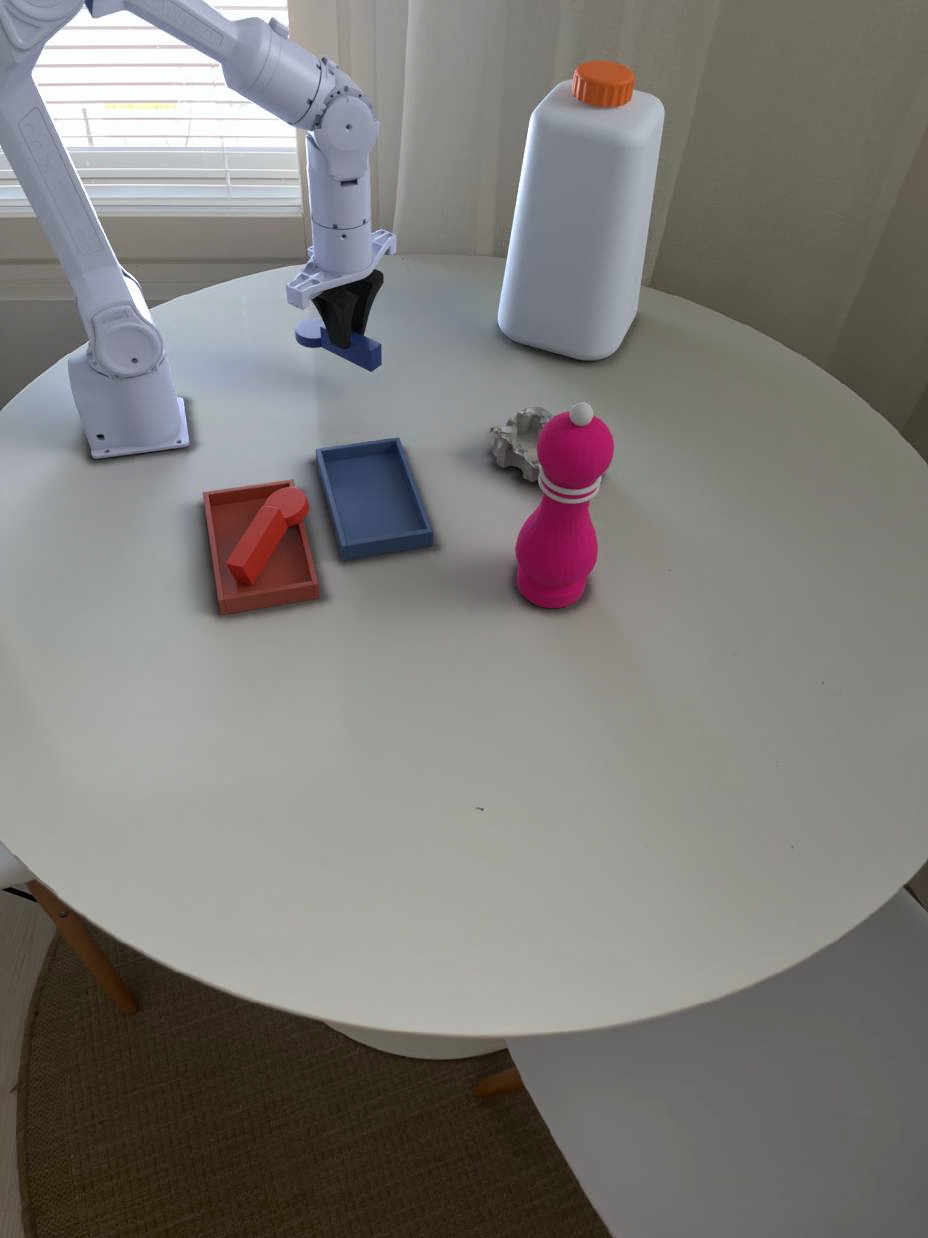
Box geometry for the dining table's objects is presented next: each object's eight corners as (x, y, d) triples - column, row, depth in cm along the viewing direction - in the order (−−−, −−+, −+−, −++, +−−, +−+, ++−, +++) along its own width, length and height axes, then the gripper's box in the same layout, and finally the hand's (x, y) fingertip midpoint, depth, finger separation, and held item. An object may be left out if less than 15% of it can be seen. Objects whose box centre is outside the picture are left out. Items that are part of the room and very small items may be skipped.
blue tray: (342, 561, 84) (341, 546, 82) (316, 463, 92) (315, 448, 91) (433, 546, 85) (433, 531, 84) (399, 451, 94) (399, 436, 92)
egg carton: (482, 458, 94) (484, 426, 91) (525, 425, 98) (529, 393, 95) (566, 506, 90) (571, 474, 87) (607, 469, 94) (614, 437, 91)
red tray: (221, 615, 79) (218, 600, 77) (205, 506, 87) (202, 491, 86) (320, 598, 81) (318, 583, 79) (295, 493, 89) (293, 478, 88)
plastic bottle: (642, 308, 114) (697, 60, 92) (608, 373, 104) (660, 114, 83) (529, 278, 117) (557, 32, 95) (486, 339, 108) (506, 81, 86)
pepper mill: (584, 620, 80) (627, 442, 65) (504, 605, 81) (528, 426, 66) (593, 562, 85) (635, 384, 70) (517, 548, 86) (542, 368, 70)
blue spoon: (388, 360, 98) (388, 339, 96) (364, 377, 96) (364, 356, 94) (312, 322, 101) (310, 301, 99) (287, 338, 99) (285, 317, 97)
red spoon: (263, 587, 80) (253, 569, 78) (225, 579, 81) (214, 561, 79) (316, 499, 85) (308, 479, 83) (280, 492, 87) (271, 473, 84)
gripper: (357, 176, 91) (361, 298, 102) (256, 229, 84) (272, 356, 94) (412, 198, 89) (411, 321, 100) (314, 255, 81) (324, 382, 92)
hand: (347, 340), depth 97 cm, fingers closed on blue spoon, 2 cm apart
